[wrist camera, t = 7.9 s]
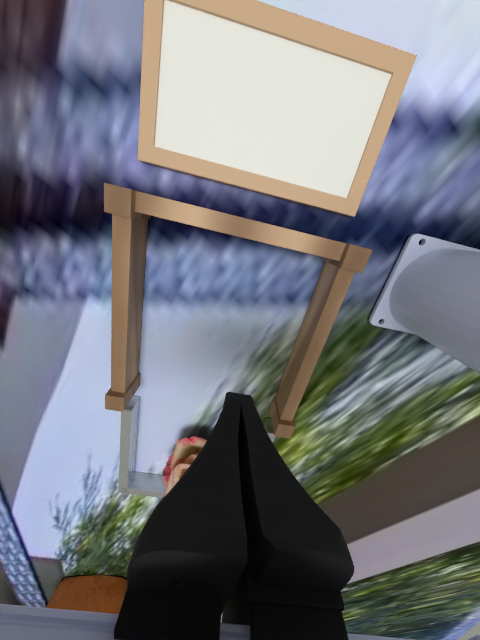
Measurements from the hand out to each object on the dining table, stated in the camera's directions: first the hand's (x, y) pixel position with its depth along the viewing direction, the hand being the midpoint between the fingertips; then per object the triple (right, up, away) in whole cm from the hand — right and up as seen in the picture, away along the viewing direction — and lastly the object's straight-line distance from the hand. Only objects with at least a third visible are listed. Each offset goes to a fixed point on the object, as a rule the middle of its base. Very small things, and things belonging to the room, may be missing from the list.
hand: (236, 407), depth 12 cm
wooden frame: (-1, +5, +9) cm, 10 cm away
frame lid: (+2, +18, +3) cm, 19 cm away
